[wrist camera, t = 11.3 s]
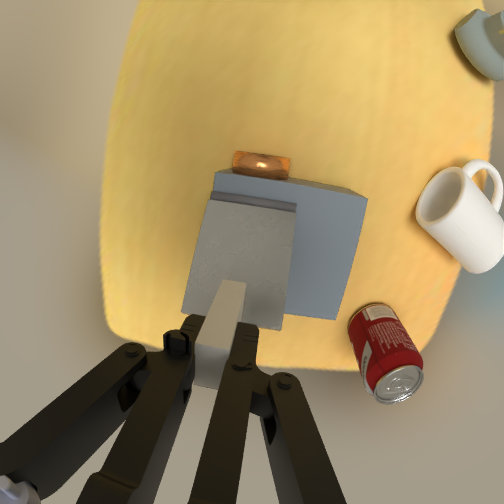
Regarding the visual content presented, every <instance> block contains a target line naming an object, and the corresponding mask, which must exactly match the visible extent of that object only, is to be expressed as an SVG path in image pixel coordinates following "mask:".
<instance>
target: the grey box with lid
mask: <svg viewBox="0 0 504 504" xmlns="http://www.w3.org/2000/svg"><path fill="white" fill-rule="evenodd" d="M210 200H216V201H223V202H230V203H237V204H244V205H250V206H257V207H263V208H269V209H276V210H282V211H288V212H294V213H296V221H295V230H294V238H293V247H292V255H291V263H290V271H289V278H288V286H287V293H286V300H285V307H284V313H285V314H292V315H299V316H306V317H314V318H321V319H329V320H336V317H337V314H338V311H339V307H340V304H341V301H342V298H343V295H344V291H345V288H346V285H347V281H348V278H349V274H350V271H351V267H352V263H353V260H354V256H355V252H356V248H357V244H358V240H359V236H360V232H361V228H362V224H363V219H364V215H365V210H366V206H367V201H368V198H366V197H364V196H362V195H360V194H358V193H356V192H354V191H352V190H350V189H346V188H342V187H337V186H332V185H327V184H322V183H317V182H312V181H306V180H301V179H295V178H289V177H288V179H287V180H275V179H266V178H259V177H252V176H246V175H241V174H236V173H233V172H232V169H226V170H222V171H219V172H215V179H214V187H213V191H212V192H211V197H210Z"/></svg>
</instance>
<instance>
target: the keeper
mask: <svg viewBox="0 0 504 504" xmlns="http://www.w3.org/2000/svg"><path fill="white" fill-rule="evenodd" d="M295 221H296V213H294V212H288V211H282V210H276V209H269V208H263V207H257V206H250V205H244V204H237V203H230V202H223V201H216V200H208V203H207V206H206V210H205V214H204V218H203V221H202V225H201V229H200V233H199V237H198V241H197V245H196V249H195V253H194V257H193V261H192V265H191V269H190V274H189V278H188V282H187V287H186V291H185V296H184V300H183V305H182V309H181V312H182V313H183V314H187V315H191V314H197V315H202V316H207V314H208V311H209V309H210V307H211V305H212V302H213V300H214V298H215V295H216V293H217V291H218V289H219V286H220V284H221V282H222V280H223V279H226V280H232V281H237V282H243V283H246V290H245V297H244V304H243V311H242V317H241V322H243V323H249V324H255V325H257V327H258V328H264V329H270V330H277V331H280V330H281V328H282V321H283V314H284V307H285V300H286V293H287V286H288V278H289V271H290V263H291V255H292V247H293V238H294V230H295Z"/></svg>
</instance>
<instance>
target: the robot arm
mask: <svg viewBox="0 0 504 504" xmlns="http://www.w3.org/2000/svg"><path fill="white" fill-rule="evenodd" d="M245 290H246V283H243V282H237V281H232V280H226V279H223V280H222V282H221V284H220V286H219V289H218V291H217V293H216V295H215V298H214V300H213V302H212V305H211V307H210V309H209V311H208V314H207V316H202V315H197V314H191V315H189V316H188V317H186V319H185V321H184V322H183V324H182V326H181V328H180V330H177V329H176V330H170V331H168V332H166V333H165V334H164V335H163V343H164V350H163V351H160V352H146V350H145V348H144V346H142V345H141V344H138V343H133V342H130V343H126V344H123V345H122V346H120V347H119V348H118V349H117V350H115V351H114V352H113V353H112V354H110V355H109V356H108V357H107V358H106V359H104V360H103V361H102V362H100V363H99V364H98V365H97V366H96V367H94V368H93V369H92V370H90V372H88V373H87V374H86V375H84V376H83V377H82V378H81V379H80V380H78V381H77V382H76V383H74V384H73V385H72V386H71V387H70V388H68V389H67V390H66V391H65V392H63V393H62V394H61V395H60V396H59V397H57V398H56V399H55V400H54V401H52V402H51V403H50V404H49V405H48V406H46V407H45V408H44V409H43V410H41V411H40V412H39V413H38V414H37V415H35V416H34V417H33V418H32V419H31V420H29V421H28V422H27V423H26V424H24V425H23V426H22V427H21V428H20V429H18V430H17V431H16V432H15V433H14V434H12V435H11V436H10V437H9V438H8V439H6V440H5V441H4V442H2V443H0V504H41V500H43V499H45V498H47V497H49V496H50V495H52V494H53V493H55V492H56V491H57V490H58V489H59V488H60V487H62V485H63V484H64V483H65V482H66V481H67V480H68V479H69V478H70V477H71V476H72V475H73V474H74V473H75V472H76V471H77V470H78V469H79V468H80V467H81V466H82V465H83V464H84V463H85V462H86V461H87V460H88V459H89V458H90V457H91V456H92V454H94V453H95V451H97V449H98V448H99V447H100V446H101V445H102V444H103V443H104V442H105V441H106V440H107V439H108V438H109V437H110V436H111V435H112V434H113V433H114V432H115V431H116V430H117V428H118V427H119V426H120V425H121V424H122V423H123V422H124V421H125V420H126V421H125V423H124V425H123V427H122V429H121V431H120V433H119V434H118V436H117V438H116V441H115V442H114V444H113V446H112V448H111V450H110V452H109V454H108V456H107V458H106V460H105V462H104V465H103V466H102V468H101V470H100V471H99V472H96V473H93V474H92V475H90V477H89V478H88V480H87V482H86V484H85V486H84V488H83V490H82V492H81V494H80V496H79V498H78V500H77V502H76V504H153V503H154V500H155V497H156V494H157V491H158V488H159V485H160V482H161V479H162V476H163V473H164V470H165V467H166V464H167V461H168V458H169V456H170V452H171V450H172V447H173V444H174V441H175V438H176V435H177V432H178V429H179V427H180V423H181V421H182V418H183V415H184V412H185V409H186V407H187V404H188V401H189V398H190V395H191V391H192V389H191V388H192V383H193V380H194V385H197V386H202V387H206V388H211V389H216V390H218V393H217V397H216V400H215V405H214V408H213V412H212V416H211V419H210V424H209V427H208V431H207V435H206V438H205V442H204V446H203V449H202V453H201V457H200V461H199V465H198V468H197V472H196V476H195V480H194V483H193V487H192V491H191V495H190V498H189V502H188V503H187V504H236V498H237V493H238V486H239V480H240V473H241V467H242V460H243V453H244V446H245V439H246V432H247V426H248V418H249V412H251V413H253V414H255V415H258V416H260V422H261V427H262V431H263V435H264V440H265V444H266V449H267V453H268V457H269V462H270V466H271V470H272V475H273V479H274V483H275V487H276V491H277V496H278V500H279V504H347V503H346V501H345V498H344V496H343V493H342V490H341V488H340V485H339V483H338V480H337V477H336V475H335V472H334V470H333V467H332V465H331V462H330V459H329V457H328V454H327V452H326V449H325V446H324V444H323V441H322V439H321V436H320V434H319V431H318V428H317V426H316V423H315V421H314V418H313V415H312V413H311V410H310V408H309V405H308V402H307V400H306V398H305V395H304V392H303V390H302V387H301V384H300V382H299V380H298V379H297V378H296V377H295V376H294V375H292V374H289V373H285V372H279V373H275V374H274V375H272V376H271V375H268V374H266V373H264V372H262V371H261V370H260V369H259V368H258V367H257V365H256V353H257V345H258V337H259V329H258V327H257V325H255V324H249V323H243V322H241V317H242V311H243V304H244V297H245Z"/></svg>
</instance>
